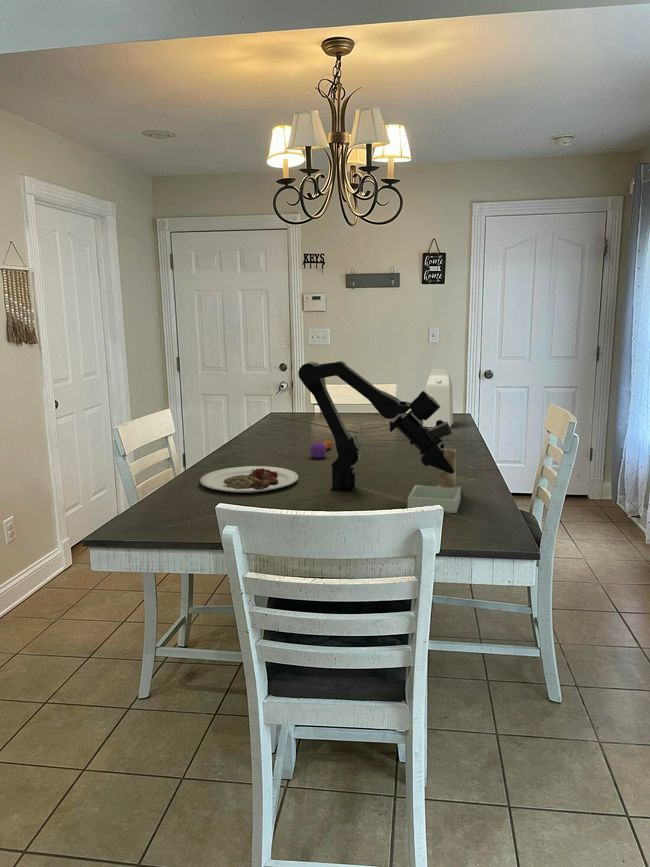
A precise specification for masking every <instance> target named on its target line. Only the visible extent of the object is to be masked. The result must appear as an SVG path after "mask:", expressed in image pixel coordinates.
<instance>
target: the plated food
mask: <svg viewBox="0 0 650 867" xmlns="http://www.w3.org/2000/svg"><path fill="white" fill-rule="evenodd" d="M298 479H299V475H298V473H297V472H296V471H293V470H290V469H287V468H283V467H277V466H276V467H275V466H267V465H266V466H264V465H263V466H262V465H258V466H257V465H252V466H251V465H249V466H237V467H235V466H234V467H228V468H222V469H218V470H214V471H211V472H208V473H206V474H204V475H203V476H201V477H200V481H199V482H200V484H201V485H202V486H203V487H206V488H209V489H212V490H217V491H222V492H229V493H236V494H237V493H241V494H242V493H243V494H245V493H247V494H249V493H260V492H261V493H263V492H268V491H273V490H277V489H279V488H280V489H281V488H284V487H288V486H290V485H293V484H294V483H296V482H297V481H298Z"/></svg>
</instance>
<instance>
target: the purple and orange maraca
mask: <svg viewBox="0 0 650 867" xmlns="http://www.w3.org/2000/svg"><path fill="white" fill-rule="evenodd" d="M332 448H333V442H332V441H331V440H325V441H324V442H320V441H317V442H314V443H312V444H311V445H310V447H309V453H310V456H311V457H312V458H314V459H317V460H320V459H322V458H324V457H325V456H326V454H327V452H328V450H331V449H332Z"/></svg>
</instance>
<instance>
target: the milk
mask: <svg viewBox="0 0 650 867" xmlns="http://www.w3.org/2000/svg"><path fill="white" fill-rule="evenodd" d="M429 374H430V375H429V376H428V380H427V382H426V385H425V392H426V393H427V394H428V395H429V396H431V397H433V398H434V399H435V400H436V402H437V403H438V404H439V405H440V408H439V409H438V410H437V411H436V412H435V413H434V414H433V415H432V416H431V417H430V418H429V419H427V420H426V421H425V420H424V419H423V420H422V426H423V427H424V426H425V427H434V426H436V421H438V420H442V421H443V422H448V424H449V426H450V427H451V425H452V424H453V425H454V418H453V417H454V409H453V405H454V404H453V399H454V398H453V383H452V380H451V378H450V375H449V373H448V370H447V369H446V368H432V370H431V372H430V373H429ZM451 428H452V427H451Z"/></svg>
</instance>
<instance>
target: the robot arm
mask: <svg viewBox="0 0 650 867" xmlns="http://www.w3.org/2000/svg"><path fill="white" fill-rule="evenodd" d="M297 375H298V378H299V380H300V381H301V382H302V384H303V385H304V386H305V388H306V389H307V390H308V391H309V392H310V393H311V394H312V395H313V397H314V399H315V402H316V404H317V405H318V407H319V409H320V412H321V413H322V415H323V417H324V419H325V422H326V424H327V426H328V428H329V430H330V432H331V434H332V436H333V438H334V442H335V449H336V453H337V457H336V458H335V459H334V461H333V462H332V463H331V468H332V469H331V477H332V478H331V487H330V491H338V492H350V493H351V492H353V491H354V490H355V489H356V488H357V487H358V473H357V472H356V467H354V465H356V463H357V462H358V461H359V459H360V458H361V456H362V447H363V446H362V444H361V443H360V441H359V439H358V435H357V434H354V435H351V434H350V433H349V432H348V429H346V426H345V424H344V422H343V420H342V418H341V415H340V413H339V411H338V410H337V408H336V406H335V404H334V402H333V399H332V397H331V396H330V393H329V391H328V388H327V384H326V379H325V378H330V377H338V378H339V379H340V380H342V381H343V382H345V383H346V384H347V385H348V386H350V387H351V388H352V389H354V390H355V391H357V392H358V393H359V394H360V395H362V396H363V397H364V398H365V399H367V400H368V401H369V402H370V403H371V405H372V406H373V407H374V408H375V410H376V411H377V412H378V413H379V414H380V415H381V416H382V417H383V418H385V419H387V420H390V421H389V432H390V433H393V431H394V430H396V429H397V430H398V431H399V432H400V433H401V434H402V435H403V436H404V437H405V438H406V439H407V440H408V441H409V444H410V445H411V446H413V447H415V448H416V449H417V450H418V451H419V455H421V456H420V457H421V459H420V460H421V461H420V462H421V463H422V465H423V466H425V467H428V466H430V467H434V468H436V469H439V470H440V469H441V470H443V471H446V472H448V473H450V474H452V473H453V472H454V470H453V469H452V467H451V466H450V464H449V463H448V461H447V460H446V458H445V457H444V449H445V443H444V442H443V441H444V439H443V437H447V436H450V435H452V434H453V433H452V432H453V431H452V427H451V428H450V426H449V424H448V422H443V421H442V420H438V421H436V426H434V427H433V428H427V427H425V426H424V427H423V424H422V423H421V421H423V419H424V420H425V421H426V420H427V419H429V418H430V417H431V416H432V415H433V414H434V413H435V412H436V411H437V410H438V409H439V408H440V405H439V404H438V403H437V402H436V400H435V399H434V398H433V397H431V396H429V395H428V394H427V393H426V392H425V391H424V390H422V391H421V392H419V394H418V395H417V397H415V398H414V399H413V400H412V401H411V402H409V401H403V400H400V399H399V398H398V397H396V396H394V395H392V394H390V393H388V392H387V391H384V390H381V389H379V388H378V387H377V386H375V385H373V384H372V383H371V382H370V381H368V380H367V379H365V378H364V377H362V375H360V374H359V373H358V372H356V371H355V370H354V369H353V368H351V367H350V366H349V365H347V364H346V362H344V361H342V360H339V361H336V362H329V363H328V362H326V363H317V362H316V361H310V362H307V363H304V364H302V365H301V366H300V367H299V369H298V374H297ZM402 414H405V415H402ZM398 415H399V416H398ZM396 417H397V418H396ZM395 418H396V419H395ZM391 419H393V420H394V421H393V420H391ZM442 442H443V443H442ZM440 443H441V444H440Z"/></svg>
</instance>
